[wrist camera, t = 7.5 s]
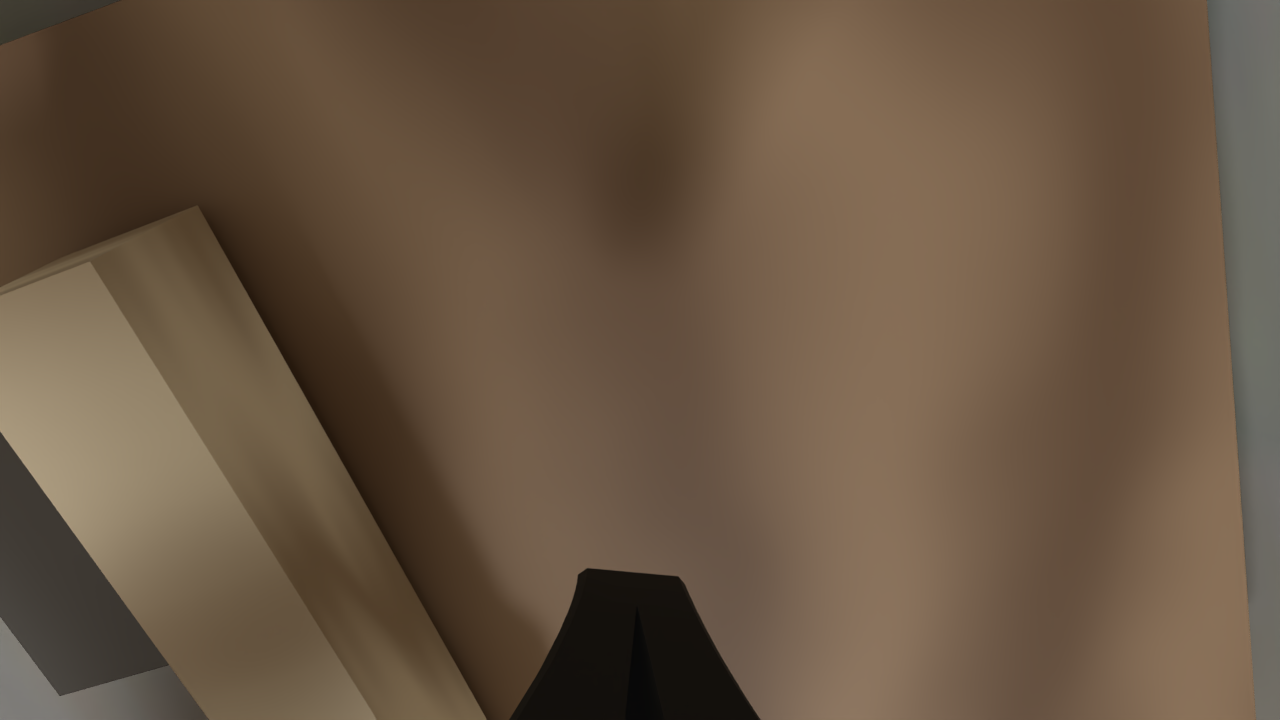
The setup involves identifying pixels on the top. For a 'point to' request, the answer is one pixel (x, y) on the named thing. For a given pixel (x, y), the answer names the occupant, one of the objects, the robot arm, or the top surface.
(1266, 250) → the top surface
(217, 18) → the stool seat
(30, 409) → the folding leg
